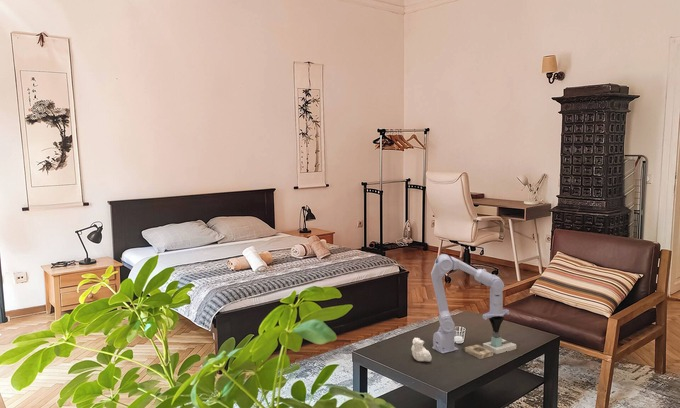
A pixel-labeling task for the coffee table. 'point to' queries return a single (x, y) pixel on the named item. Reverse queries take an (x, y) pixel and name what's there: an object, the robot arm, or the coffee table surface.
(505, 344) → the port housing
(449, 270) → the robot arm
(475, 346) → the holster
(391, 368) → the coffee table surface
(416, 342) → the white animal figurine
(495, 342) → the plug
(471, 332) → the coffee table surface
